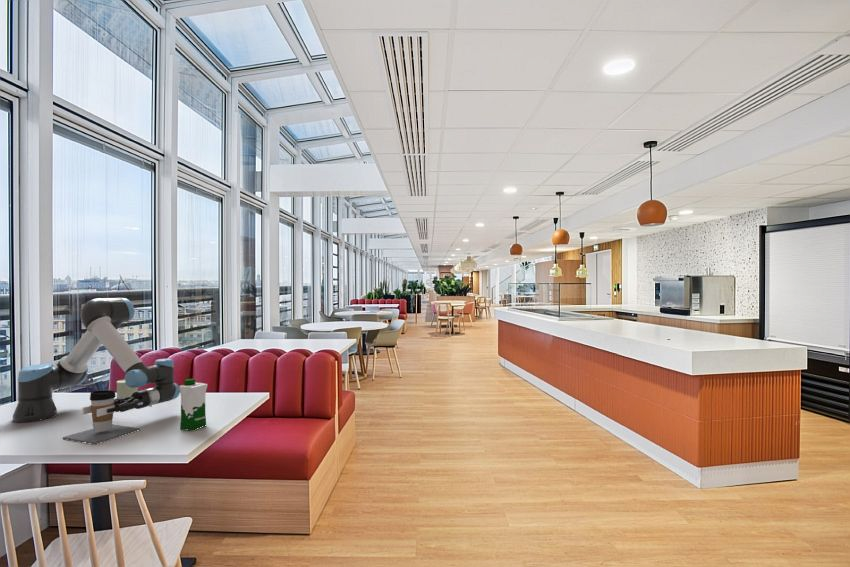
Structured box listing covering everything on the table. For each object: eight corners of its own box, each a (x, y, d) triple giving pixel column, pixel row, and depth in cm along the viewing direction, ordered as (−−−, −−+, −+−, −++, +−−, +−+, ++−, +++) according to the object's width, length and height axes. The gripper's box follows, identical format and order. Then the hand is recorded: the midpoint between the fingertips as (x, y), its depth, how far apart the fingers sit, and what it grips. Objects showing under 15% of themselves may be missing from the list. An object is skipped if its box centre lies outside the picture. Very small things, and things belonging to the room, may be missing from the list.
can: (126, 400, 232) (126, 377, 232) (142, 401, 231) (142, 378, 231) (111, 405, 223) (111, 381, 223) (128, 406, 222) (128, 381, 222)
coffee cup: (92, 427, 180) (93, 390, 181) (117, 424, 184) (117, 388, 184) (86, 433, 173) (86, 394, 173) (112, 430, 176) (112, 392, 176)
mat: (62, 439, 173) (62, 437, 173) (109, 425, 190) (109, 423, 190) (94, 444, 167) (94, 442, 167) (140, 430, 184) (140, 428, 184)
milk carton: (194, 423, 192) (194, 377, 193) (210, 425, 189) (210, 378, 190) (176, 429, 184) (176, 381, 184) (192, 432, 181) (193, 382, 181)
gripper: (161, 409, 192) (108, 424, 170) (128, 404, 199) (72, 419, 177) (161, 391, 192) (108, 404, 170) (128, 388, 199) (72, 400, 177)
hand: (90, 412), depth 174 cm, fingers closed on coffee cup, 7 cm apart
